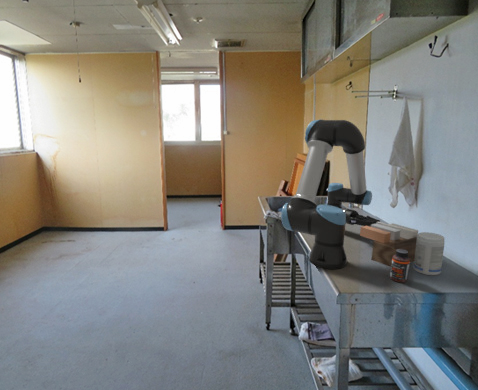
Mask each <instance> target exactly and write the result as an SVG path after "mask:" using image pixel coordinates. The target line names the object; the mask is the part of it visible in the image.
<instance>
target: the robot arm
mask: <svg viewBox="0 0 478 390" xmlns="http://www.w3.org/2000/svg"><path fill="white" fill-rule="evenodd" d="M304 133H305V134H304V140H305V141H304V142H305V143H306V147H307V148H308V152H307V155H306V157H305V162H304V164H303V169H302V172H301V175H300V179H299V182H298V186H297V189H296V193H295V195H293V196H292V197H291V198H290V199H289V200H290V201H289V202H286V203H284V204H283V205H282V209H281V213H280V214H281V215H280V218H281V219H280V220H281V224H282V226H283V228H284V229H285V230H287V231H291V232H294V233H295V232H296V233H301V234H307V235H311V236H314V243H313V246H312V248H311V250H310V253H309V257H308V261H309V263H310V264H312V265H313V266H315V267H318V268H322V269H329V270H337V269H343V268H345V267H346V266H347V263H348V261H347V260H348V259H347V255H346V250H345V245H344V244H345V243H344V242H345V235H346V234H345V232H346V225H347V224H348V225H349V226H350V225H351V226H353V225H357V226H360V227H363V226H369V227H371V225H372V224H380V225H383V226H387V227H388V225H389V224H390V223H385V222H382V221H381V220H380V219H377V218H374V217H372V216H370V215H366V216H365V215H363V214H359V212H358V211H357V210H354V209H350V208H346V207H344V206H342V205H343V204H342V203H346V204H347V203H348V204H354V205H359V206H369V205H371V203H372V200H373V193H372V191H371V190H368V189H367V180H366V171H365V158H364V157H365V156H364V150H365V149H366V142H365V138H364V135H363V133H362V132H361V130H360V129H359V128H358V127H357V126H356V125H355V124H354V123H353V122H351V121H349V120H346V119H321V118H320V119H314V120H312V121H310V122H309V123H308V125H307V127H306V128H305V132H304ZM334 147H341V148H342V151H343V153H345V156H346V165H347V172H348V179H349V187H344V184H343V183H342V182H341V183H340V182H331V183H329V184H328V187H327V188H328V189H327V203H325V204H317V203H316V201H315V200H316V197H317V194H318V191H319V190H318V189H319V186H320V183H321V180H322V179H321V178H322V175H323V173H324V172H323V171H324V169H325V164H326V161H327V157H328V154H330V153H331V152H333V149H334Z"/></svg>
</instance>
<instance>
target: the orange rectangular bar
mask: <svg viewBox="0 0 478 390" xmlns="http://www.w3.org/2000/svg"><path fill="white" fill-rule="evenodd" d="M359 232H360V233H359V236H361V237H363V238H365V239H366V238H367V239H369V240H373V241H378V242H381V243H388V242H390V235H391V233H390V232H386V231H383V230H380V229H376V228H373V227H369V226H360V231H359Z"/></svg>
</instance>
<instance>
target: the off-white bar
mask: <svg viewBox="0 0 478 390" xmlns="http://www.w3.org/2000/svg"><path fill="white" fill-rule="evenodd" d="M388 224H389V225H388V227H390V228H394V229H397V230H401V231H400V237H401V238H405V239H410V238H414V237H417V235H418V233H419V230H418V229H415V228H411V227H408V226H404V225H401V224H400V225H399V224H396V223H388Z"/></svg>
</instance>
